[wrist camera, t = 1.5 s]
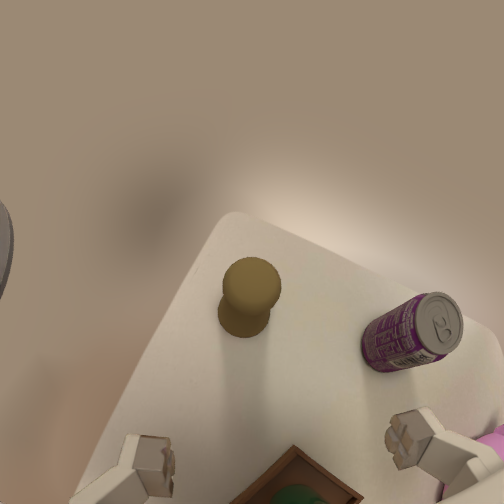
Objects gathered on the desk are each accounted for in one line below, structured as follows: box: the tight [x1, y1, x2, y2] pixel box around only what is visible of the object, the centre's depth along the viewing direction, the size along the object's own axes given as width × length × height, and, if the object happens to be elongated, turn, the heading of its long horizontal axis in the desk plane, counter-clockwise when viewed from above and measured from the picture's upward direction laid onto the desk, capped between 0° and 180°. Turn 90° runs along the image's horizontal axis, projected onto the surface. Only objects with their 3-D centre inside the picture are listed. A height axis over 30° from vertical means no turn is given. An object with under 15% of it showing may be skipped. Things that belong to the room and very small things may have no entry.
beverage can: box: [362, 292, 463, 372], centre depth 31 cm, size 7×7×12 cm
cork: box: [218, 257, 281, 338], centre depth 32 cm, size 6×6×11 cm
